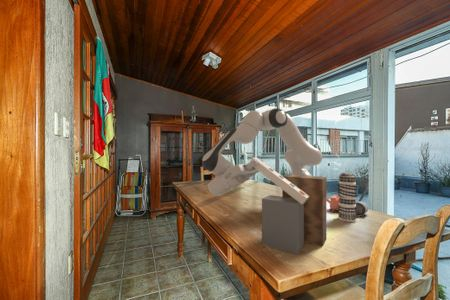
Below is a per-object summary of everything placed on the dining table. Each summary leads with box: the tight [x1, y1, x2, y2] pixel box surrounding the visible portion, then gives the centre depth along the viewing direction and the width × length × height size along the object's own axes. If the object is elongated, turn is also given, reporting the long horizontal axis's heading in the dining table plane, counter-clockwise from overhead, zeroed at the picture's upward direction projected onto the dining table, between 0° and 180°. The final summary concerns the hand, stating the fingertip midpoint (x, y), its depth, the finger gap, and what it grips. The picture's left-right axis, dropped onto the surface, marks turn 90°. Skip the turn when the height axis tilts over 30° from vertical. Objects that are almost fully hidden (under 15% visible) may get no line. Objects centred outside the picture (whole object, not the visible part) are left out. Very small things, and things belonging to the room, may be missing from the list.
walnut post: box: [281, 174, 327, 247], centre depth 87 cm, size 16×8×26 cm, turn 54°
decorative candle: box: [337, 172, 358, 223], centre depth 111 cm, size 9×9×25 cm
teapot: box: [326, 194, 340, 212], centre depth 128 cm, size 12×12×10 cm
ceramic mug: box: [355, 201, 369, 217], centre depth 121 cm, size 11×8×8 cm
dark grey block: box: [261, 194, 305, 255], centre depth 81 cm, size 14×8×18 cm, turn 54°
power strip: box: [249, 156, 309, 204], centre depth 82 cm, size 26×4×4 cm
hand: (259, 161), depth 86 cm, fingers closed on power strip, 4 cm apart
